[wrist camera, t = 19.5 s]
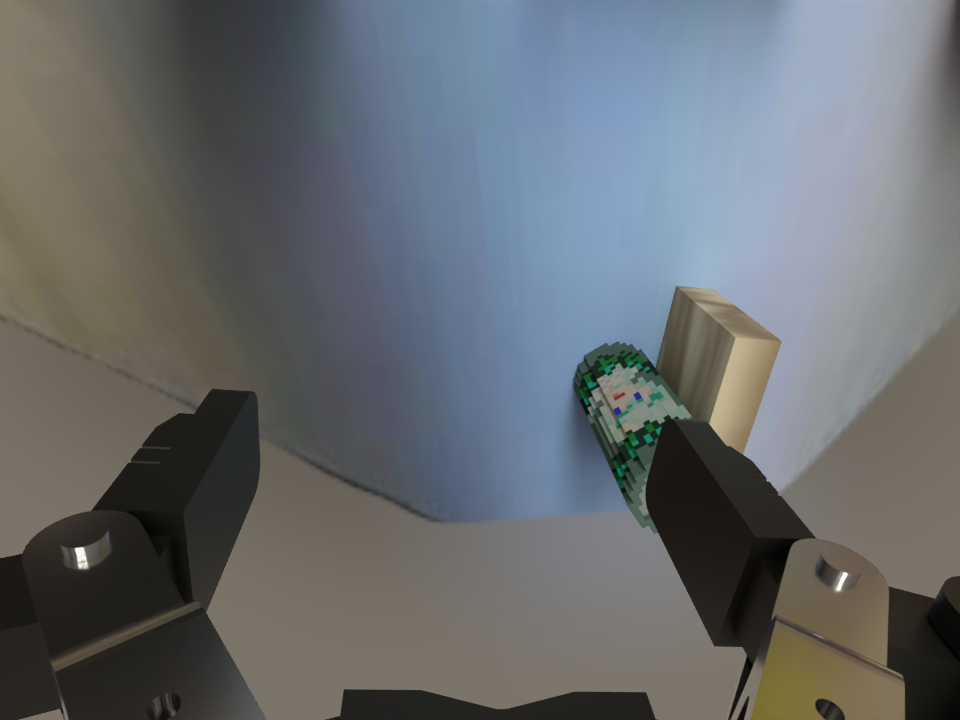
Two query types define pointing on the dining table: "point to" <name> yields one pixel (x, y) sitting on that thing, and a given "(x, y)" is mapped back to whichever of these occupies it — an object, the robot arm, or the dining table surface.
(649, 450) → the can
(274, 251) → the dining table surface
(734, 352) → the ash board
